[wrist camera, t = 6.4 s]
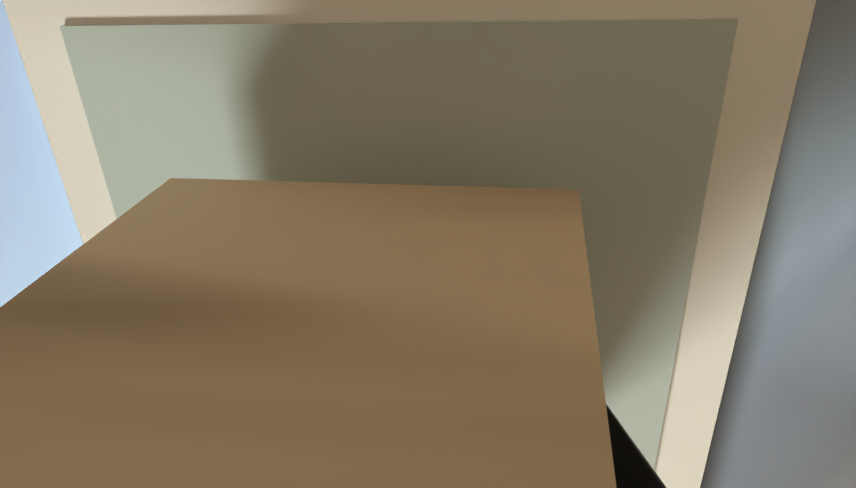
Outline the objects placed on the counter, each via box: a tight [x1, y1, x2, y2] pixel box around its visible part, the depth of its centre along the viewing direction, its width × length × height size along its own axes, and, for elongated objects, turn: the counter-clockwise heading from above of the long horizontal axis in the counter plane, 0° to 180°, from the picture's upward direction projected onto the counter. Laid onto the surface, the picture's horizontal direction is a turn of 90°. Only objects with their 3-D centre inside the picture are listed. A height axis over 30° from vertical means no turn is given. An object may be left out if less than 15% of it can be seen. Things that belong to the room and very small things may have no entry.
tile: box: [3, 0, 816, 488], centre depth 10 cm, size 10×10×1 cm
